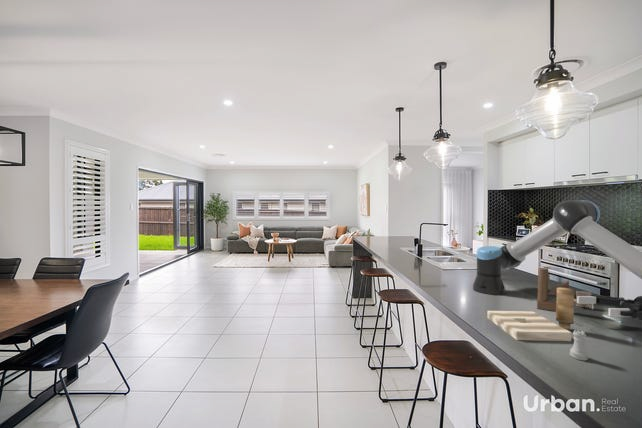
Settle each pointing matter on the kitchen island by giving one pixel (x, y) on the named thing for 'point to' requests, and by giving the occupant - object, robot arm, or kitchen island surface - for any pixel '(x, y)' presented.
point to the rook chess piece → (579, 346)
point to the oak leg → (565, 307)
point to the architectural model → (579, 293)
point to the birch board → (528, 326)
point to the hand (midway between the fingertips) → (592, 305)
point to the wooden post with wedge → (543, 290)
